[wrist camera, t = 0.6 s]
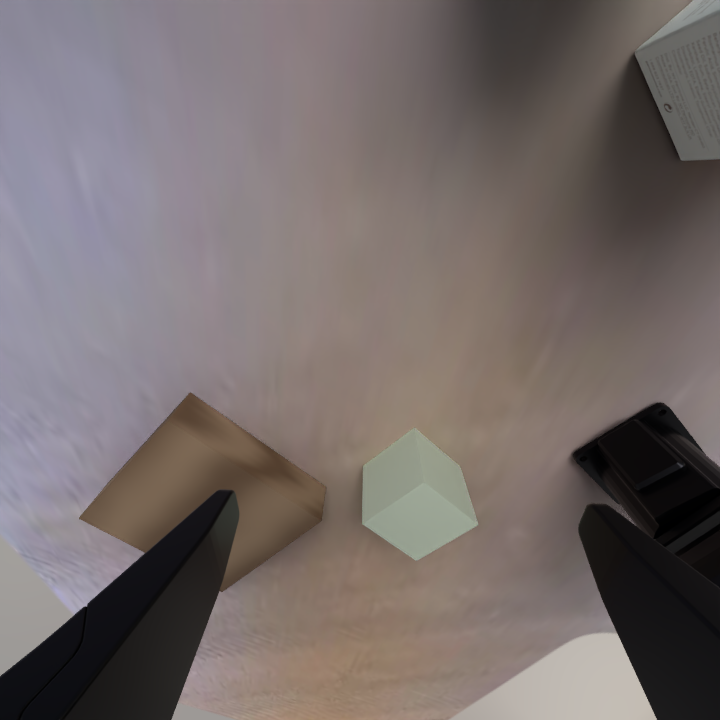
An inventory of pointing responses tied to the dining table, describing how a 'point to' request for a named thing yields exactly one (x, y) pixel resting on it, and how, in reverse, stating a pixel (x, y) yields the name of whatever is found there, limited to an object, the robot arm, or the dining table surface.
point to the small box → (687, 78)
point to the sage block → (416, 496)
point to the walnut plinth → (208, 488)
